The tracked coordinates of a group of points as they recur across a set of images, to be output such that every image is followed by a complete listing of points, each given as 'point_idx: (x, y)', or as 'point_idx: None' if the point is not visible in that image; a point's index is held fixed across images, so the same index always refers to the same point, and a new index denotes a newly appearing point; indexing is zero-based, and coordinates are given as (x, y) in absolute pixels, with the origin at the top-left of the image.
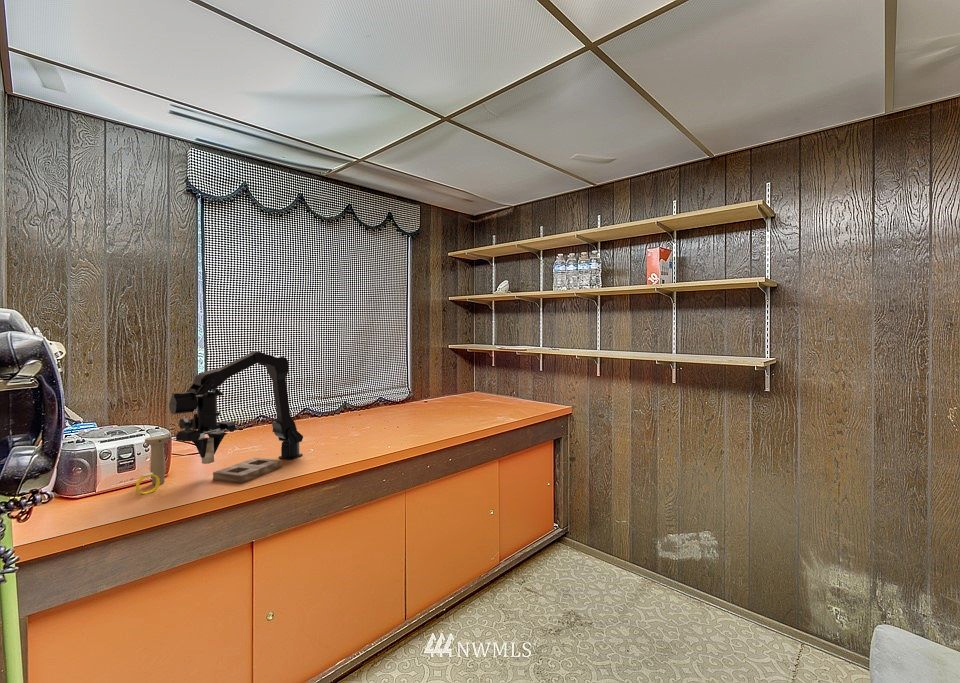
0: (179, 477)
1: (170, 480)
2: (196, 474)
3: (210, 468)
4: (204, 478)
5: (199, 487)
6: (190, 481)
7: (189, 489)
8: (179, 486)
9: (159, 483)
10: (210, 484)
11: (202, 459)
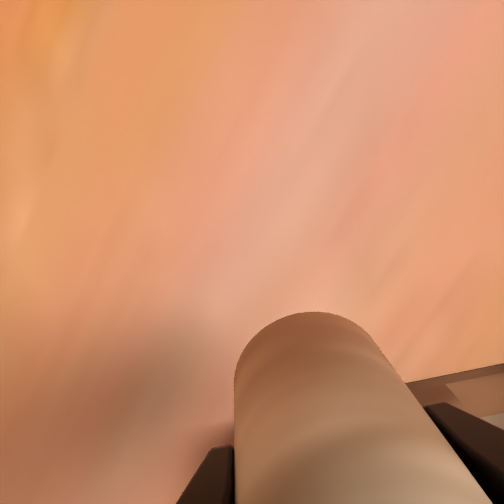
0: (130, 52)
1: (27, 72)
2: (279, 116)
3: (483, 33)
4: (244, 313)
5: (95, 491)
6: (129, 286)
7: (26, 473)
8: (6, 338)
9: None
10: (180, 494)
11: (234, 420)
